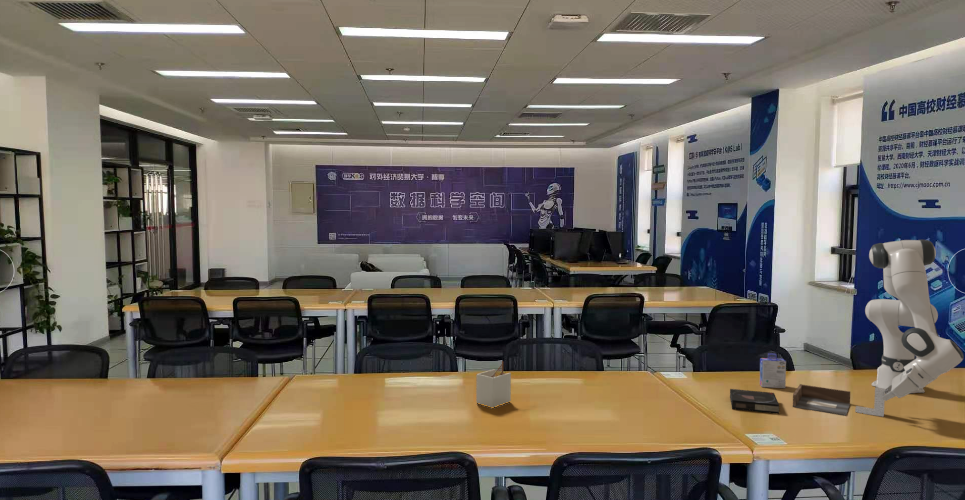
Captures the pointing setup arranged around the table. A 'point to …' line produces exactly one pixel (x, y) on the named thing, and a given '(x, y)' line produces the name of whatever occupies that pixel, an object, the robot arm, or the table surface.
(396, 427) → the table surface
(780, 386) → the ink cartridge box
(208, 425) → the table surface
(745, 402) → the flat black box
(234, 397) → the table surface
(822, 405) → the corner arena
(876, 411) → the angle bracket
